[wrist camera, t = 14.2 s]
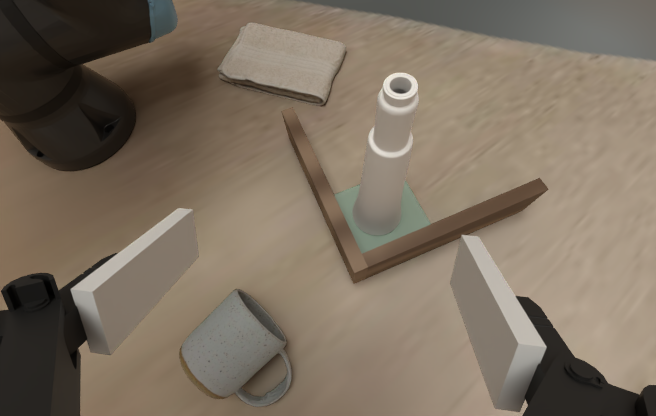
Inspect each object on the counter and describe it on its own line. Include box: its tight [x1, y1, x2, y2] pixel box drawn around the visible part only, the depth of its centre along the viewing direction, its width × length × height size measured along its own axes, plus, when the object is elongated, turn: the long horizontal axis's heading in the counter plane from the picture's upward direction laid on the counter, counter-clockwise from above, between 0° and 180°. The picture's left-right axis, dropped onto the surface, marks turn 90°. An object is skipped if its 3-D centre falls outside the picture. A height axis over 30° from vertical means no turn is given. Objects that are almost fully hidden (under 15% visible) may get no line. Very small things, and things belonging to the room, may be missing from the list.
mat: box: [334, 180, 431, 253], centre depth 42 cm, size 10×10×1 cm
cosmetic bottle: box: [352, 73, 419, 236], centre depth 31 cm, size 6×6×22 cm
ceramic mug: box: [179, 289, 292, 407], centre depth 33 cm, size 11×8×8 cm
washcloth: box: [218, 23, 346, 106], centre depth 52 cm, size 12×18×3 cm, turn 72°
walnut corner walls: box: [282, 107, 548, 284], centre depth 41 cm, size 22×22×6 cm
